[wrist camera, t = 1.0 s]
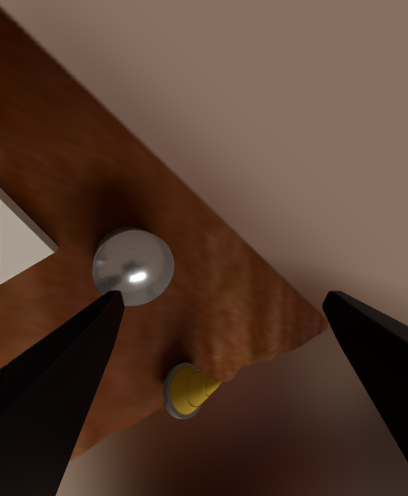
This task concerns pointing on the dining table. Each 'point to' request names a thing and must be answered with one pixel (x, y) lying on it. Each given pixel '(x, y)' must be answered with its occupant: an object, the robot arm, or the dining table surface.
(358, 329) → the robot arm
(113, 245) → the silver flared knob
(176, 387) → the yellow spiral cone
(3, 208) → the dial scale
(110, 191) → the dining table surface
